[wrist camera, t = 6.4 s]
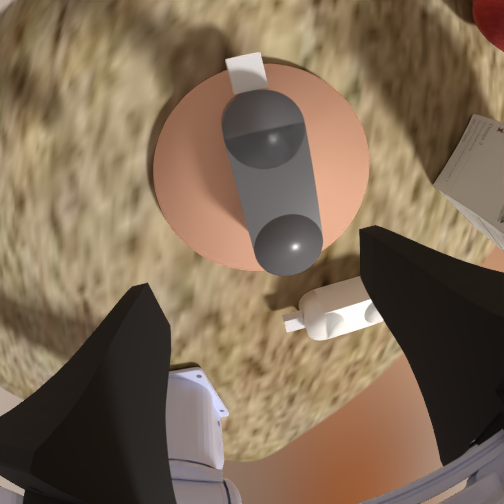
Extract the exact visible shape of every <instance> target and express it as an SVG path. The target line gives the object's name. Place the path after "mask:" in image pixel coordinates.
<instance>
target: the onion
mask: <svg viewBox="0 0 504 504" xmlns="http://www.w3.org/2000/svg"><path fill="white" fill-rule="evenodd" d="M472 15H473V19H474V21H475V23H476V25H477V27H478V29H479V30H480V31H481V33H482V34H483V35H484V36H485V37H486V39H487V40H488V41H489V42H491V43H492V44H493V45H495V46H496V47H497V48H499V49H500V50H502V51H503V52H504V0H473V12H472Z"/></svg>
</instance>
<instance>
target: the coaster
mask: <svg viewBox="0 0 504 504" xmlns="http://www.w3.org/2000/svg"><path fill="white" fill-rule="evenodd" d="M263 66H264V70H265V74H266V78H267V82H268V86H269V87H267V88H262V89H257V90H273V91H277V92H280V93H282V94H284V95H286V96H288V97H289V98H290V99H292V100H293V101H294V102H295V103H296V105H297V106H298V107H299V109H300V110H301V112H302V115H303V117H304V121H305V126H306V131H307V137H308V142H309V148H310V153H311V159H312V165H313V171H314V178H315V184H316V191H317V197H318V204H319V212H320V219H321V227H322V235H323V247H322V250H324V249H325V248H326V247H328V246H329V245H331V244H332V243H333V242H334V241H335V240H336V239H337V238H338V237H339V236H340V235H341V234H342V233H343V232H344V230H345V229H346V228H347V227H348V226H349V224H350V223H351V221H352V220H353V218H354V217H355V215H356V213H357V211H358V209H359V207H360V205H361V203H362V200H363V197H364V195H365V192H366V187H367V183H368V177H369V151H368V145H367V140H366V137H365V134H364V130H363V128H362V125H361V123H360V121H359V119H358V117H357V115H356V114H355V112H354V111H353V109H352V108H351V106H350V105H349V103H348V102H347V101H346V100H345V99H344V98H343V96H342V95H341V94H340V93H339V92H337V91H336V90H335V89H334V88H333V87H332V86H330V85H329V84H328V83H326V82H325V81H323V80H322V79H320V78H318V77H317V76H315V75H313V74H310V73H308V72H306V71H304V70H301V69H297V68H294V67H290V66H286V65H279V64H263ZM236 95H237V94H234V93H233V89H232V85H231V82H230V78H229V74H228V70H225V71H223V72H221V73H218V74H216V75H214V76H212V77H210V78H208V79H207V80H205V81H203V82H202V83H200V84H199V85H197V86H196V87H195V88H194V89H192V90H191V91H190V92H189V93H188V94H187V95H186V96H184V98H183V99H182V100H181V101H180V102H179V103H178V104H177V106H176V107H175V108H174V109H173V111H172V112H171V114H170V116H169V117H168V119H167V120H166V122H165V124H164V126H163V129H162V131H161V133H160V135H159V139H158V142H157V145H156V149H155V155H154V163H153V179H154V186H155V192H156V196H157V199H158V203H159V206H160V208H161V210H162V212H163V214H164V217H165V219H166V220H167V222H168V223H169V225H170V226H171V228H172V229H173V231H174V232H175V233H176V234H177V235H178V237H179V238H180V239H181V240H182V241H183V242H184V243H186V244H187V245H188V246H189V247H190V248H191V249H193V250H194V251H196V252H197V253H198V254H200V255H201V256H203V257H205V258H207V259H209V260H211V261H213V262H216V263H218V264H221V265H223V266H227V267H231V268H235V269H241V270H249V271H264V269H263V268H262V267H261V266H260V265H259V263H258V262H257V260H256V257H255V254H254V250H253V247H252V243H251V239H250V235H249V232H248V228H247V224H246V220H245V217H244V213H243V209H242V205H241V202H240V198H239V194H238V190H237V187H236V183H235V179H234V175H233V172H232V168H231V164H230V161H229V157H228V153H227V149H226V146H225V142H224V138H223V132H222V126H221V118H222V113H223V110H224V108H225V106H226V105H227V103H228V102H229V101H230V100H231V99H232V98H233V97H234V96H236Z"/></svg>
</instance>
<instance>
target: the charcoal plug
mask: <svg viewBox="0 0 504 504" xmlns="http://www.w3.org/2000/svg"><path fill="white" fill-rule="evenodd" d="M225 63H226V66H227V70H228V74H229V78H230V82H231V85H232V89H233V93H234V94H237V95H236V96H234V97H233V98H232V99H231V100H230V101H229V102H228V103H227V105H226V106H225V108H224V110H223V113H222V118H221V126H222V132H223V138H224V142H225V146H226V149H227V153H228V157H229V161H230V164H231V168H232V172H233V175H234V179H235V183H236V187H237V190H238V194H239V198H240V202H241V205H242V209H243V213H244V217H245V220H246V224H247V228H248V232H249V235H250V239H251V243H252V247H253V250H254V254H255V257H256V260H257V262H258V263H259V265H260V266H261V267H262V268H263V269H264V270H266V271H267V272H269V273H271V274H274V275H278V276H291V275H295V274H298V273H301V272H303V271H305V270H306V269H308V268H309V267H310V266H312V265H313V264H314V263H315V261H316V260H317V259H318V257H319V255H320V253H321V251H322V247H323V235H322V227H321V219H320V212H319V204H318V197H317V191H316V184H315V178H314V171H313V165H312V159H311V153H310V148H309V142H308V137H307V131H306V126H305V121H304V117H303V115H302V112H301V110H300V109H299V107H298V106H297V105H296V103H295V102H294V101H293V100H292V99H290V98H289V97H288V96H286V95H284V94H282V93H280V92H277V91H273V90H257V89H262V88H267V87H269V86H268V82H267V78H266V74H265V70H264V66H263V62H262V58H261V54H260V52H258V53H252V54H247V55H242V56H238V57H233V58H229V59H226V60H225Z"/></svg>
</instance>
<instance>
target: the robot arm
mask: <svg viewBox="0 0 504 504" xmlns="http://www.w3.org/2000/svg"><path fill="white" fill-rule="evenodd" d="M359 235H360V278H361V280H362V283H363V285H364V287H365V289H366V291H367V293H368V295H369V297H370V299H371V301H372V303H373V304H374V306H375V308H376V309H377V311H378V312H379V314H380V315H381V317H382V318H383V320H384V322H385V323H386V325H387V326H388V328H389V329H390V331H391V332H392V334H393V336H394V337H395V339H396V340H397V342H398V344H399V345H400V347H401V348H402V350H403V352H404V354H405V356H406V357H407V360H408V361H409V364H410V366H411V368H412V371H413V373H414V375H415V378H416V380H417V382H418V385H419V387H420V390H421V392H422V395H423V398H424V401H425V404H426V407H427V409H428V413H429V416H430V419H431V422H432V425H433V429H434V433H435V437H436V441H437V446H438V450H439V454H440V460H441V462H442V464H443V467H442V468H440V469H438V470H436V471H434V472H432V473H430V474H428V475H426V476H424V477H422V478H420V479H418V480H416V481H414V482H412V483H410V484H407V485H405V486H403V487H400V488H398V489H395V490H393V491H391V492H388V493H386V494H383V495H380V496H378V497H375V498H372V499H370V500H367V501H364V502H361V503H358V504H420V503H422V502H425V501H427V500H429V499H431V498H432V497H435V496H436V495H438V494H440V493H442V492H444V491H446V490H448V489H449V488H451V487H453V486H455V485H456V484H458V483H460V482H461V481H463V480H465V479H466V478H468V477H469V479H468V480H467V484H466V487H465V488H464V489H463V490H461V491H460V492H458V493H456V494H454V495H453V496H451V497H449V498H447V499H445V500H444V501H442V502H440V503H438V504H504V273H503V272H499V271H495V270H491V269H487V268H483V267H480V266H477V265H474V264H471V263H468V262H465V261H462V260H459V259H456V258H453V257H451V256H448V255H446V254H443V253H441V252H438V251H436V250H433V249H431V248H429V247H426V246H424V245H422V244H419V243H417V242H415V241H413V240H410V239H408V238H406V237H404V236H401V235H399V234H397V233H395V232H392V231H390V230H387V229H385V228H382V227H379V226H376V225H374V226H371V227H367V228H363V229H359ZM170 357H171V330H170V324H169V322H168V321H167V319H166V317H165V315H164V313H163V311H162V309H161V308H160V306H159V304H158V302H157V300H156V298H155V296H154V294H153V292H152V290H151V288H150V286H149V284H148V283H145V284H141V285H137V286H132V287H131V288H130V289H129V290H128V291H127V292H126V293H125V295H124V296H123V297H122V298H121V299H120V300H119V302H118V303H117V304H116V305H115V306H114V308H113V309H112V310H111V311H110V313H109V314H108V315H107V316H106V318H105V319H104V320H103V321H102V323H101V324H100V325H99V326H98V328H97V329H96V330H95V331H94V332H93V333H92V335H91V336H90V337H89V338H88V339H87V341H86V342H85V343H84V344H83V345H82V347H81V348H80V349H79V350H78V351H77V352H76V353H75V354H74V356H73V357H72V358H71V359H70V360H69V361H68V362H67V363H66V364H65V365H64V366H63V367H62V368H61V369H60V370H59V371H58V372H57V373H56V374H55V375H54V376H52V377H51V378H50V379H49V380H48V381H47V382H46V383H45V384H44V385H42V386H41V387H40V388H39V389H38V390H37V391H36V392H34V393H33V394H32V395H31V396H29V397H28V398H27V399H25V400H24V401H23V402H21V403H20V404H19V405H17V406H16V407H15V408H13V409H12V410H10V411H9V412H7V413H6V414H4V415H2V416H0V475H1V476H2V477H4V478H5V479H7V480H9V481H10V482H12V483H14V484H15V485H17V486H19V487H21V488H23V489H24V490H25V493H24V496H22V495H20V494H18V493H15V492H13V491H11V490H8V489H5V488H3V487H1V486H0V504H242V502H241V497H240V494H239V491H238V489H237V487H236V486H235V485H234V484H233V483H232V482H231V481H230V480H229V479H227V478H223V471H222V467H223V464H224V454H223V441H222V427H221V417H226V416H228V415H229V411H228V410H227V408H226V406H225V405H224V403H223V402H222V400H221V399H220V397H219V396H218V394H217V392H216V391H215V389H214V388H213V386H212V384H211V383H210V381H209V379H208V378H207V376H206V375H205V373H204V371H203V370H202V368H200V367H193V368H187V369H181V370H175V371H169V367H170Z"/></svg>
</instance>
